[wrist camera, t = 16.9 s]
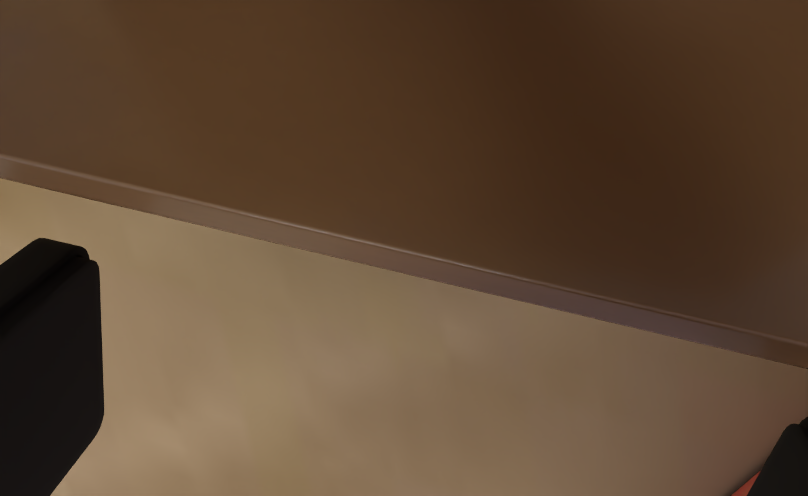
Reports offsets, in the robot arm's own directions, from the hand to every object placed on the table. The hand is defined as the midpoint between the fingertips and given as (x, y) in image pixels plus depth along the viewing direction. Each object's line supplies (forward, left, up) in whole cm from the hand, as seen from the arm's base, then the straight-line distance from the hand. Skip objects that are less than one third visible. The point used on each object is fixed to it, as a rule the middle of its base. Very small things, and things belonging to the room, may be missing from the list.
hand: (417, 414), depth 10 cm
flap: (0, -5, 0) cm, 5 cm away
